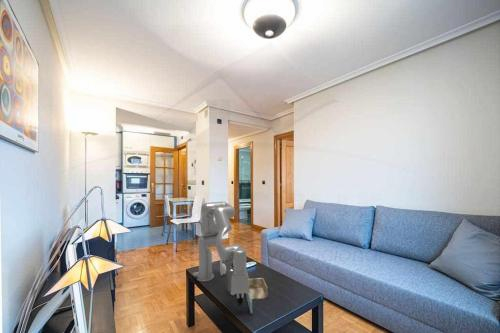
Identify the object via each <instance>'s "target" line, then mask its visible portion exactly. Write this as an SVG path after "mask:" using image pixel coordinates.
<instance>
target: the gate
mask: <svg viewBox="0 0 500 333" xmlns="http://www.w3.org/2000/svg"><path fill="white" fill-rule="evenodd" d="M246 301H247V304H248V305H247V306H248V309H249V311H250V312H249V313H250V315H252V314H253V300H251V296H250V292H249V293H247V298H246Z"/></svg>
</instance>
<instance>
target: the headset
mask: <svg viewBox="0 0 500 333" xmlns="http://www.w3.org/2000/svg"><path fill="white" fill-rule="evenodd" d="M219 273H220V276H223V275H225V274H227V266H226V264H225V263H223V260H221V259H220V262H219Z"/></svg>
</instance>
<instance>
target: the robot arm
mask: <svg viewBox="0 0 500 333" xmlns="http://www.w3.org/2000/svg"><path fill="white" fill-rule="evenodd" d="M200 210H201V211H200V212H201V215H202V216H201V225H200V226H201V227H200V231H201V234H202V235H200V236H199V237H198V238H197V246H198V248H197V249H198V271H197V272H192V276H193V277H196V280H197V281H199V282H202V283H206V282H210V281H212V280H213V279H214V278H215V274H214V273H213V254H212V250H210V248H211V247H216V252H217V253H218V254H217V255H218V257H219V259H220V261H221V260H222V262H223V261H225V262H226V261H228V260H232V263H233V269H232V270H231V272H232V278H231V292H229V293H230V295H232V296H235V297H236V298H237V300H236V303H237V304H238V306H243V305H242V304H243V303H244V297H245V296H246V294H247V293H249V279H250V278H249V272H247V250H246V249H245V248H243V247H242V246H241V245H240V244H239V243H236V244H230V245H226V246H224V244H223V237H224V236H225V235H227V234H228V233H229V232H231V230H232V228H233V226H232V223H231V221H230V219H233V218H234V217H235V216H236V211H235V208H234V207H233V206H232V204H229V203H228V202H226V201H214V202H213V201H212V202H206V203H203V204H202V205H201V209H200Z"/></svg>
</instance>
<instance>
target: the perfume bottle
mask: <svg viewBox="0 0 500 333" xmlns="http://www.w3.org/2000/svg"><path fill="white" fill-rule="evenodd" d="M228 268H229V269H228V270H227V291H228V292H229V293H230V292H231V278H232V272H231V270H232V269H233V262H232V263H231V266H229V267H228Z"/></svg>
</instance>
